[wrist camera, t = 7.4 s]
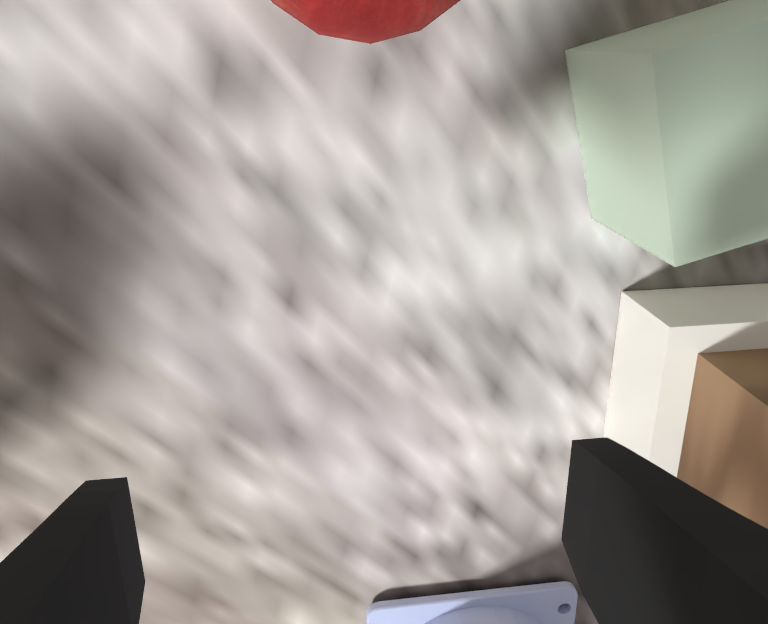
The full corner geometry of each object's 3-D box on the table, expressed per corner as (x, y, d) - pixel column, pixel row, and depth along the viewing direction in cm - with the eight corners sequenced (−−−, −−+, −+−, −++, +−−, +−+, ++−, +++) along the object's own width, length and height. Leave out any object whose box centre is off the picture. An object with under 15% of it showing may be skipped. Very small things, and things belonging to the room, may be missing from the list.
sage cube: (743, 170, 21) (870, 206, 17) (589, 217, 21) (674, 267, 17) (732, -1, 19) (872, -14, 15) (563, 49, 19) (651, 53, 15)
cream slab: (778, 458, 26) (838, 509, 23) (598, 475, 25) (637, 529, 22) (820, 280, 23) (894, 313, 20) (621, 291, 22) (669, 327, 19)
